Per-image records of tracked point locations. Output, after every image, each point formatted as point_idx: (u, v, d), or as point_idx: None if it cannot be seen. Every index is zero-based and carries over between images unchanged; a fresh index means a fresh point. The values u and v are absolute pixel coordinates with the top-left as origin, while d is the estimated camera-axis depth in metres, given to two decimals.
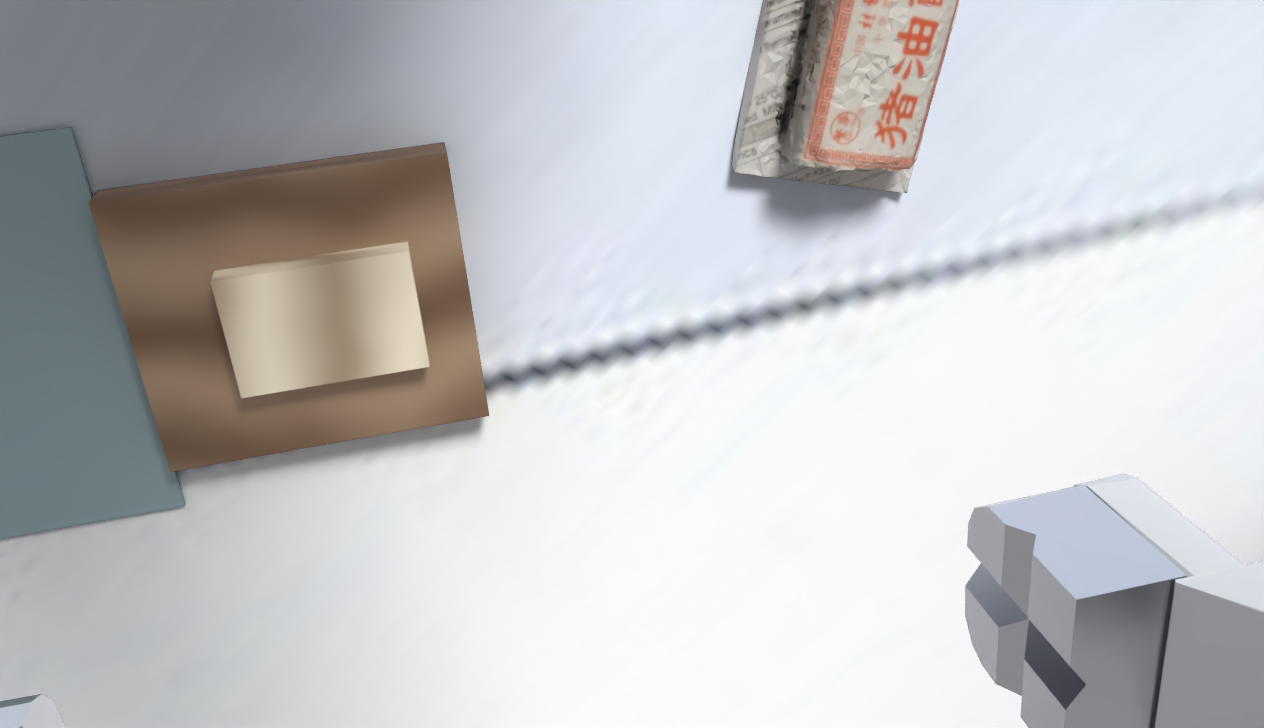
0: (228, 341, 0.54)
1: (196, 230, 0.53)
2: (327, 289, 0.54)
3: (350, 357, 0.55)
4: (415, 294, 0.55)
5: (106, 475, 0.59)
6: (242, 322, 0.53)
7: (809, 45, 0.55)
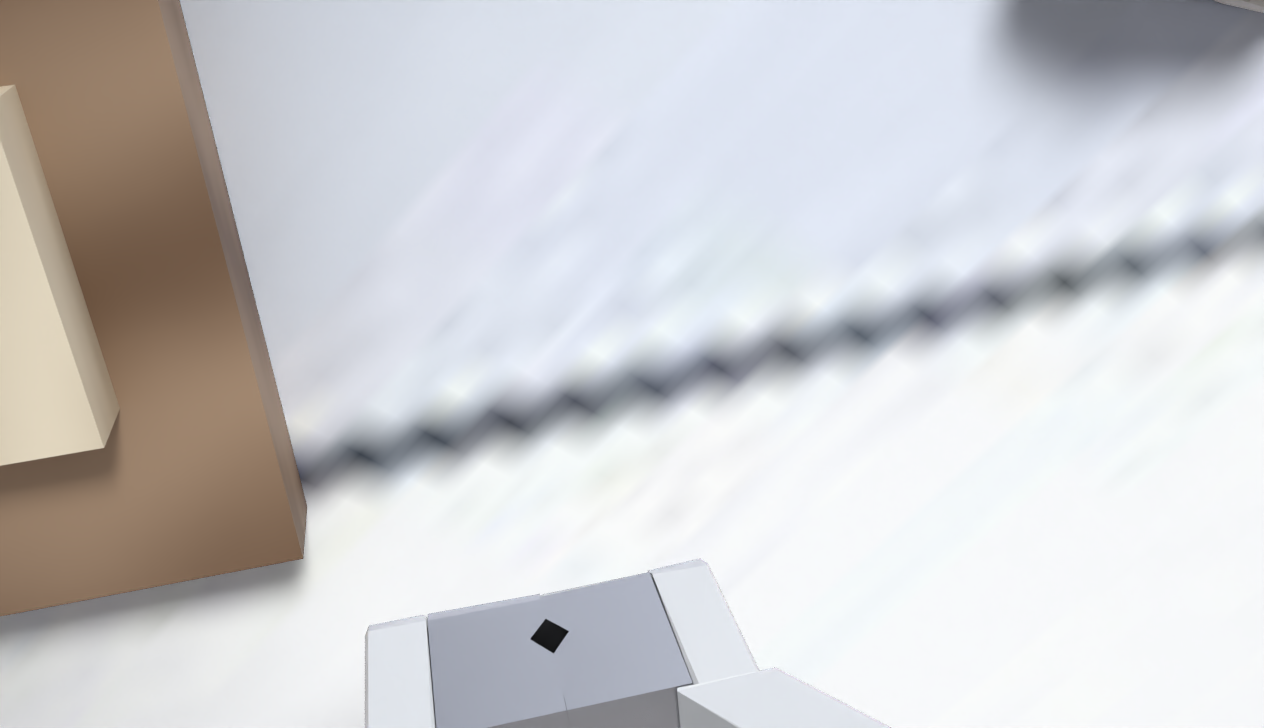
0: None
1: None
2: None
3: None
4: (30, 240, 0.18)
5: None
6: None
7: None
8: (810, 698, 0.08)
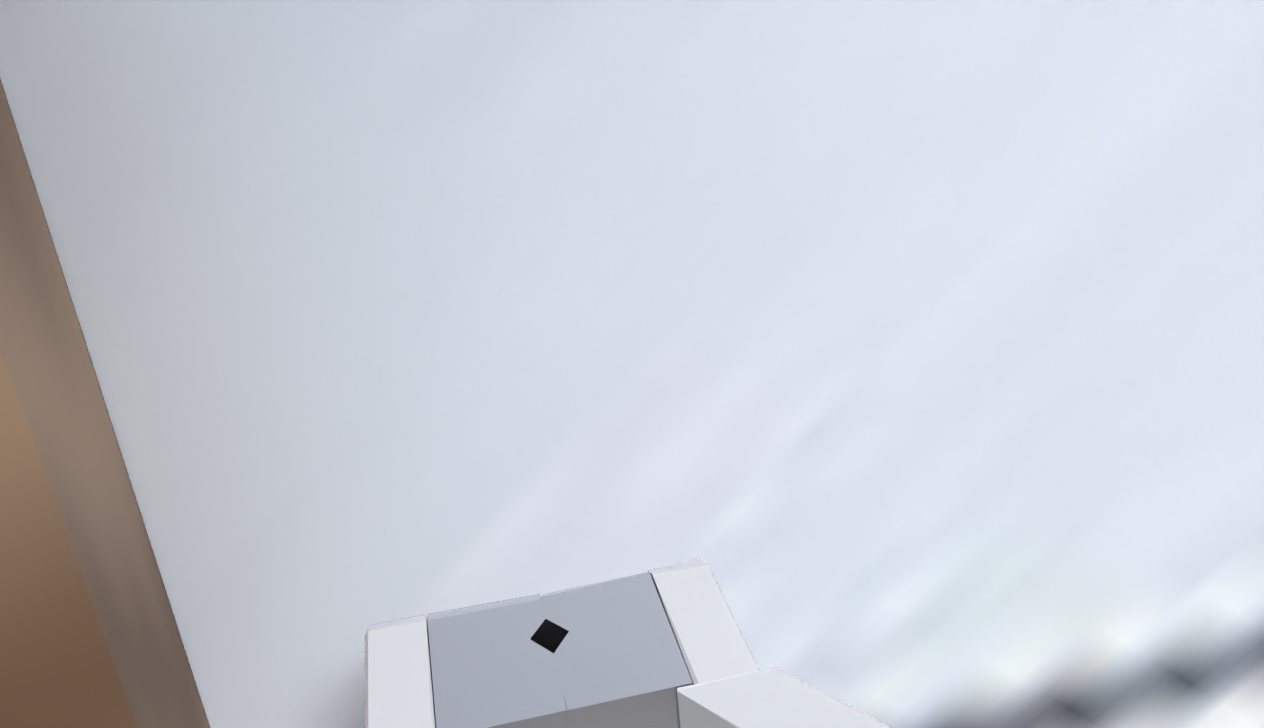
0: None
1: None
2: None
3: None
4: None
5: None
6: None
7: None
8: (810, 698, 0.08)
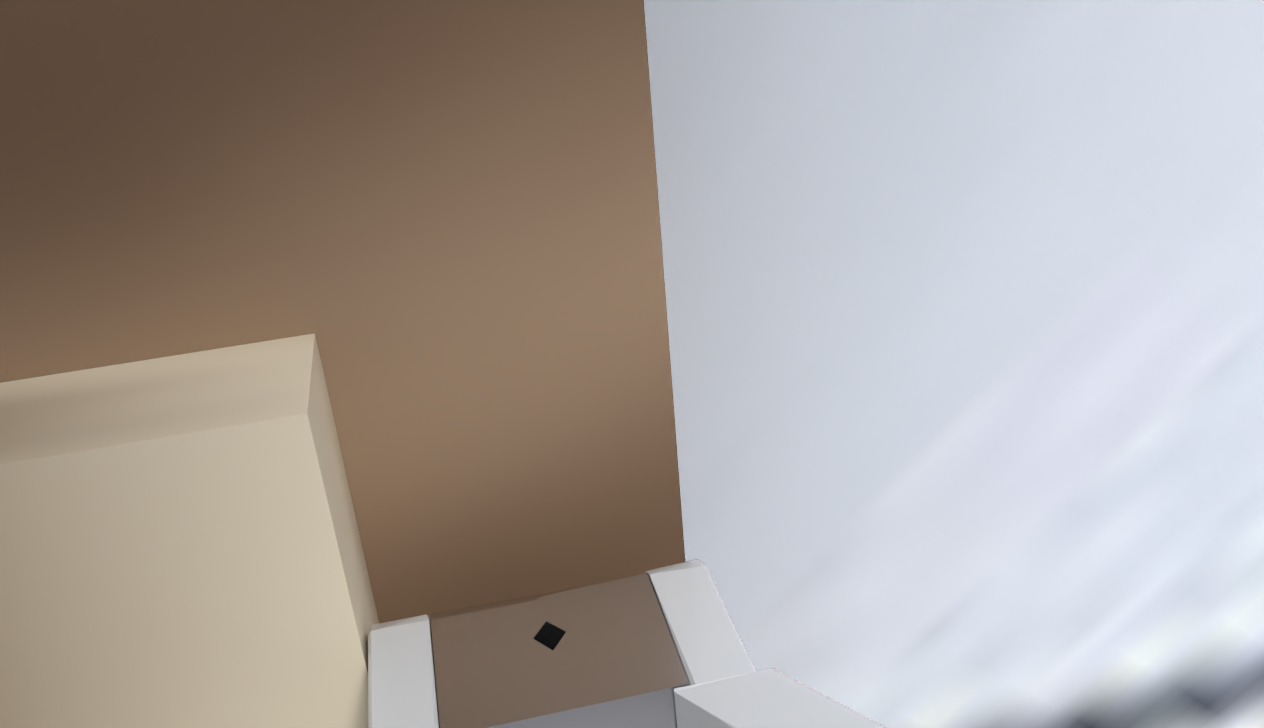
0: None
1: None
2: None
3: None
4: (355, 656, 0.09)
5: None
6: None
7: None
8: (807, 699, 0.08)
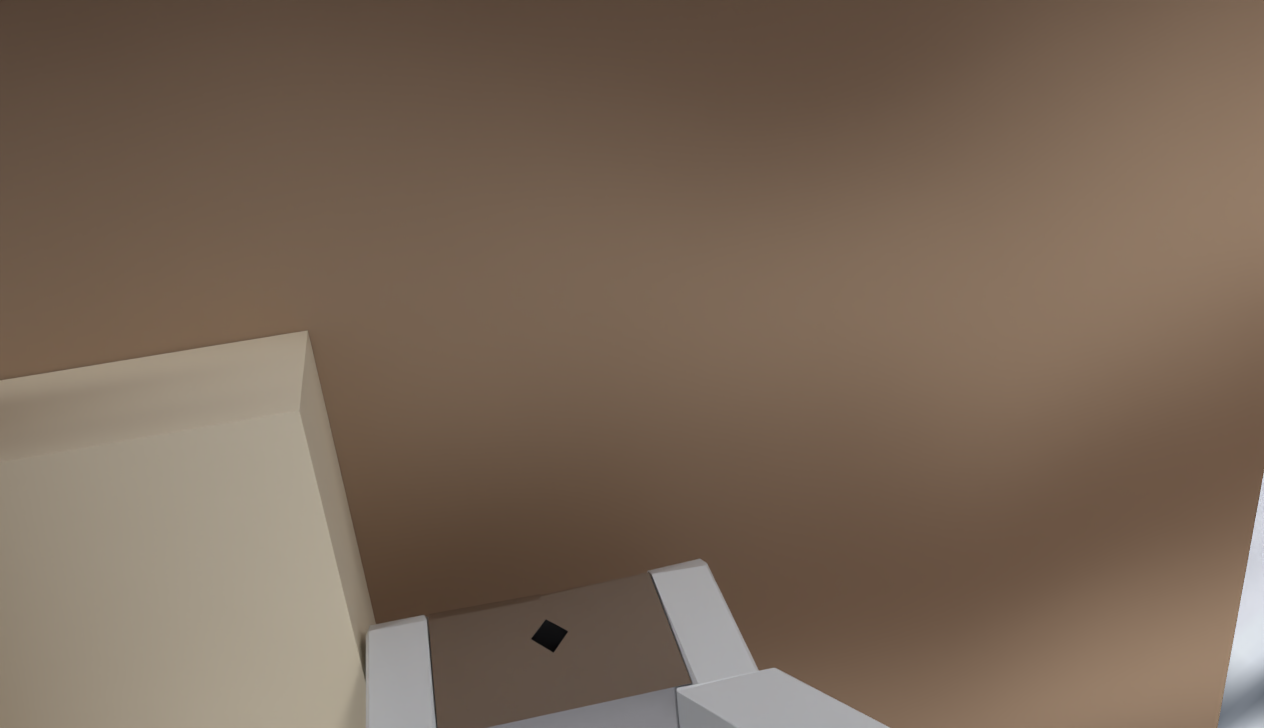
0: None
1: None
2: None
3: None
4: (350, 652, 0.09)
5: None
6: None
7: None
8: (809, 698, 0.08)
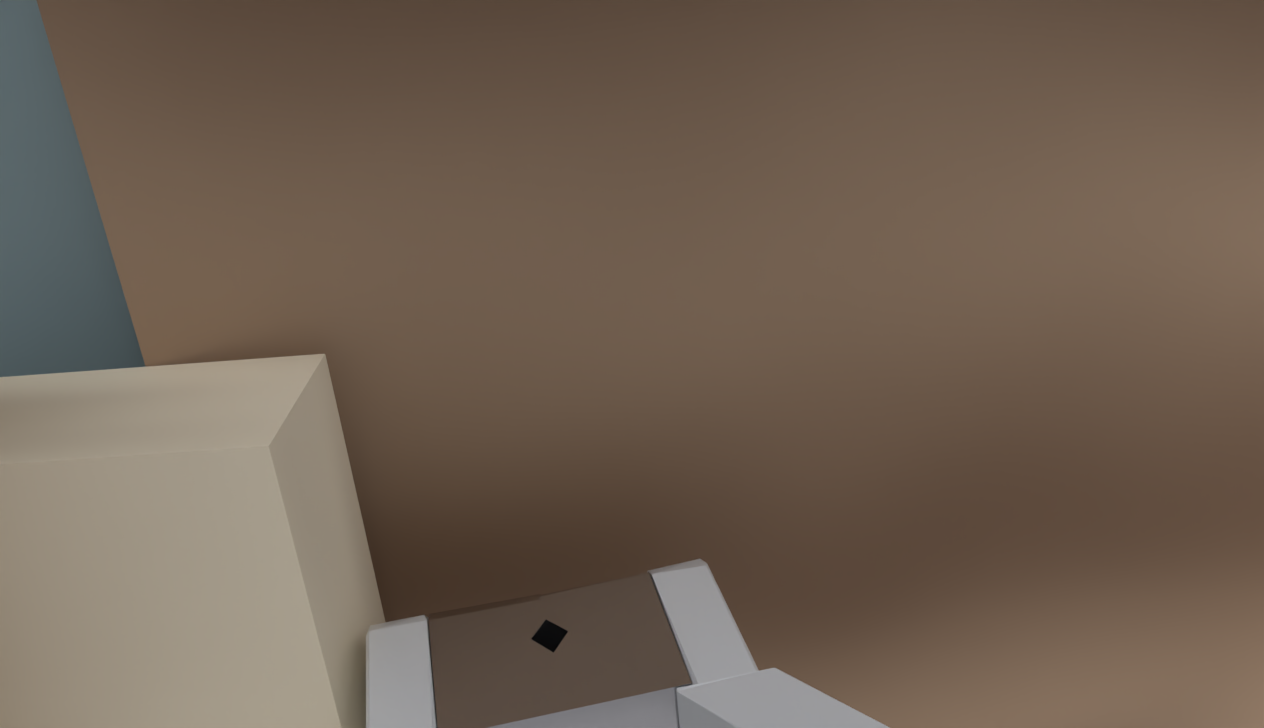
0: None
1: (625, 32, 0.09)
2: None
3: None
4: (323, 690, 0.09)
5: None
6: None
7: None
8: (809, 698, 0.08)
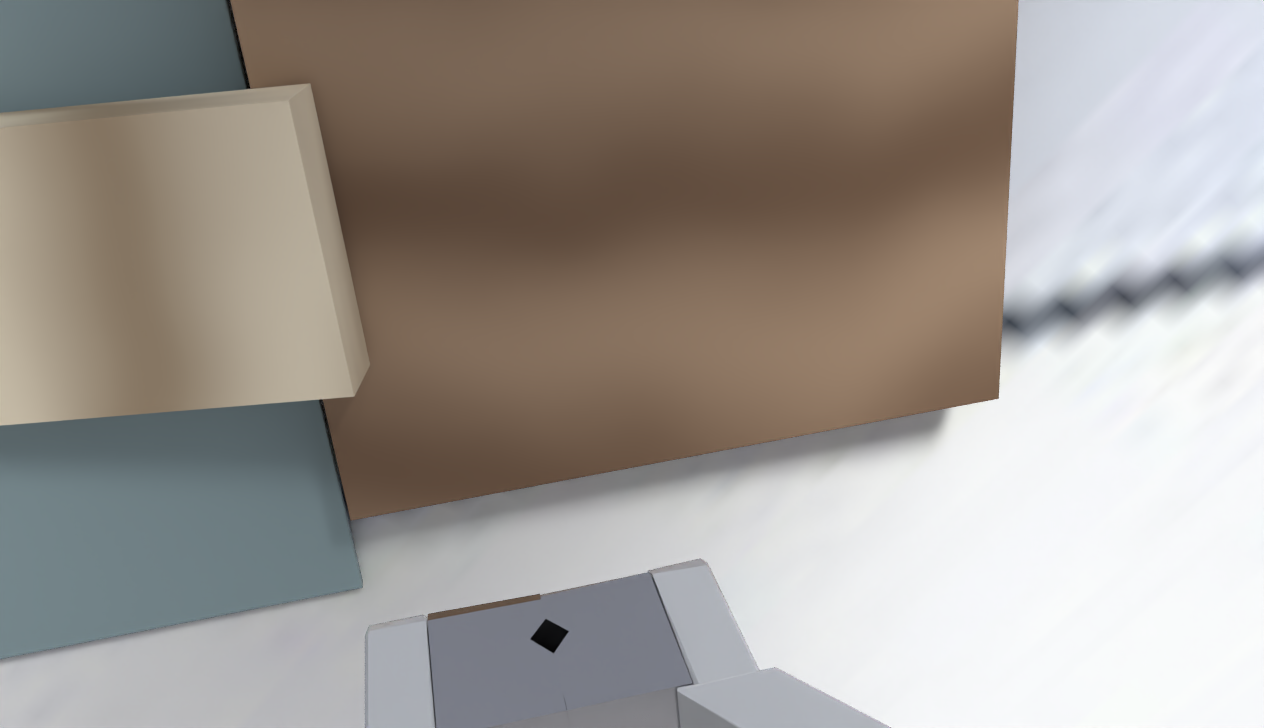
0: None
1: None
2: (92, 186, 0.21)
3: (162, 358, 0.23)
4: (310, 215, 0.22)
5: (206, 527, 0.28)
6: None
7: None
8: (810, 698, 0.08)
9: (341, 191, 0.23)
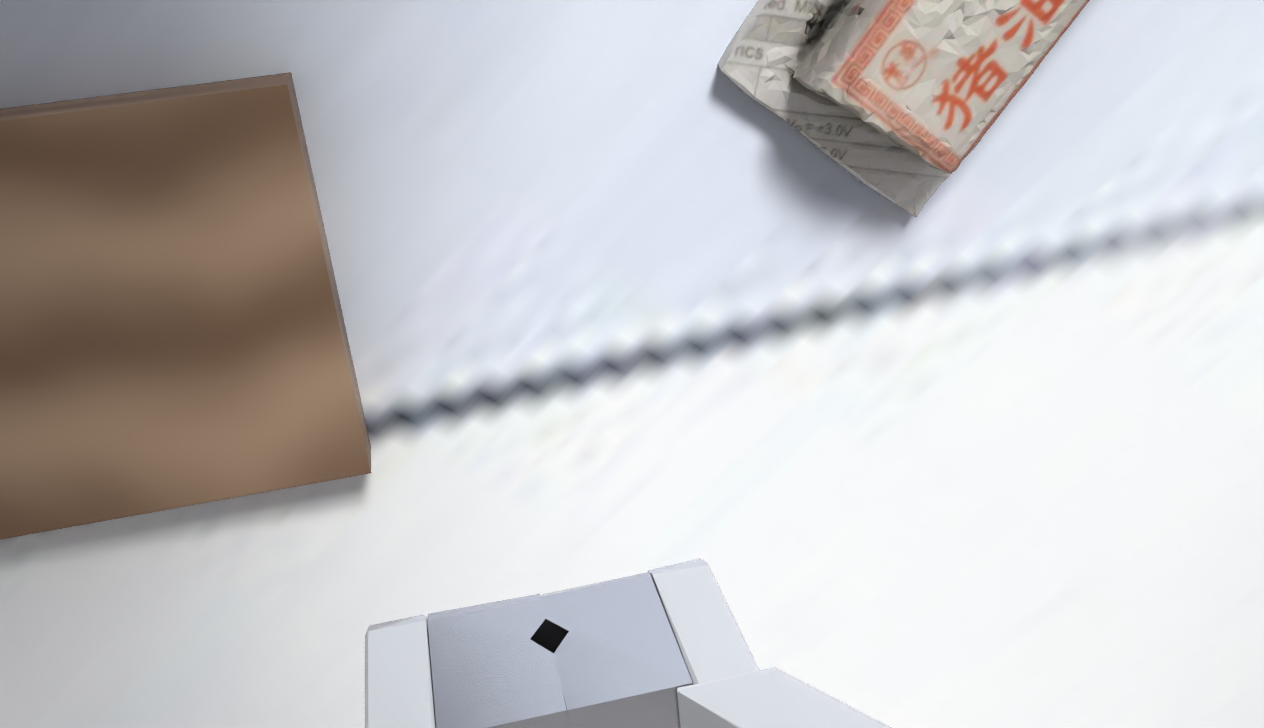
0: None
1: None
2: None
3: None
4: None
5: None
6: None
7: None
8: (810, 698, 0.08)
9: None
